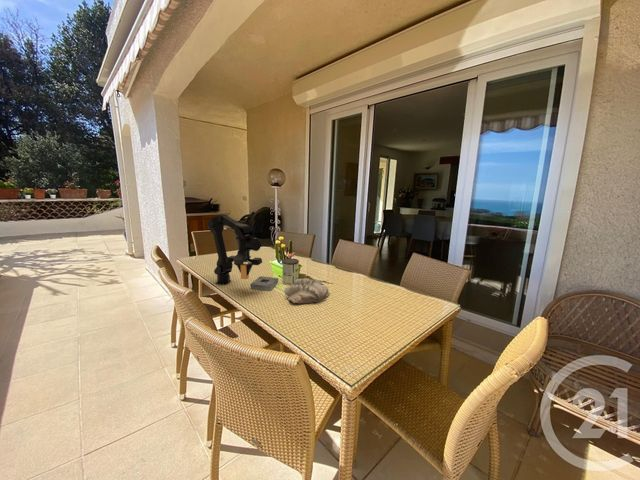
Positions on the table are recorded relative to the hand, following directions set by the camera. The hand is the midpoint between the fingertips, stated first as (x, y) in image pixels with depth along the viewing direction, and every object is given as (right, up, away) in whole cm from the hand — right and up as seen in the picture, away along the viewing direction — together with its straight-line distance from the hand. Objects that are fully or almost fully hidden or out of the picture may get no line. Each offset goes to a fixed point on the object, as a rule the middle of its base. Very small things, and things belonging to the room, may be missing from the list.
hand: (244, 274), depth 143 cm
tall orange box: (0, -2, 0) cm, 2 cm away
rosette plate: (+9, -8, +10) cm, 16 cm away
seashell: (+36, -12, -2) cm, 38 cm away
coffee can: (+24, -7, +18) cm, 31 cm away
